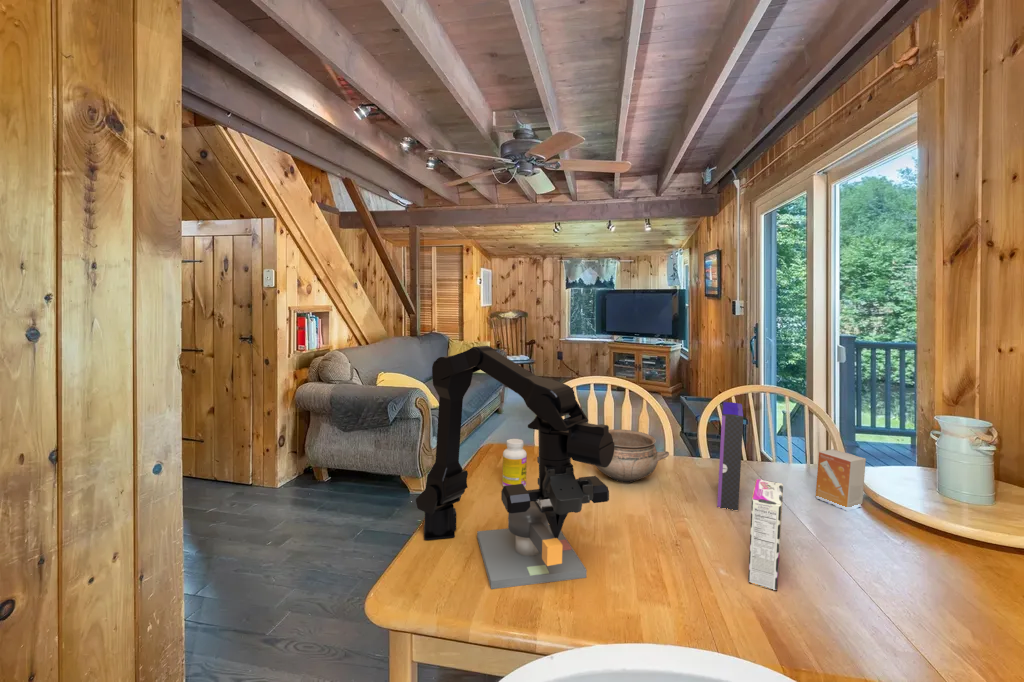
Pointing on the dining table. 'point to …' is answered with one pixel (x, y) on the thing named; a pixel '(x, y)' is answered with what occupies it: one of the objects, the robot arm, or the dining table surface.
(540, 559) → the base
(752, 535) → the candy bar box
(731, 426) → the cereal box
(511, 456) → the supplement bottle
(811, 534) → the dining table surface
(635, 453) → the cooking pot
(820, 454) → the small box
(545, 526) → the lock lever handle
